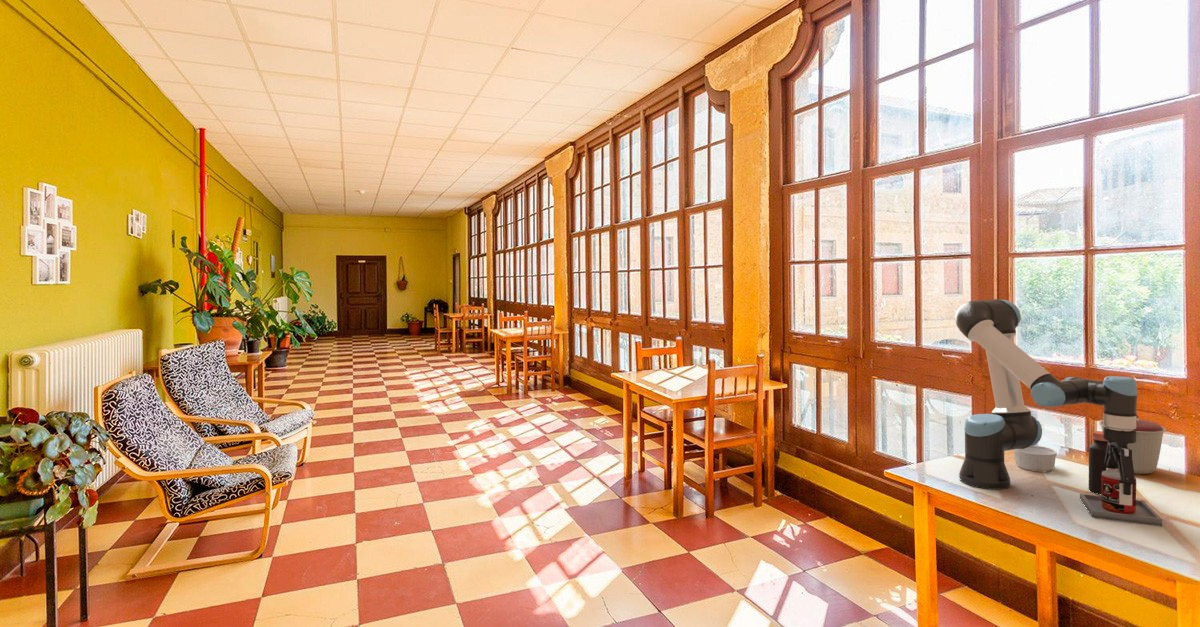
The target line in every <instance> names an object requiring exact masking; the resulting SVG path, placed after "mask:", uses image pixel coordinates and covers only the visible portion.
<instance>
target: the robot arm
mask: <svg viewBox="0 0 1200 627" xmlns="http://www.w3.org/2000/svg"><path fill="white" fill-rule="evenodd" d="M1021 316H1022V315H1021V311H1020V309H1019V308H1018V307H1017V305H1015V303H1013V302H1012V301H1010V300H1006V299H998V298H995V299H982V300H970V301H967V302H964V303H963V304H961V305H960V306H959V307H958V309H957V311H956V312H955V319H954V320H955V325H956V326H957V328H958V330H959V332H960V333H962V335H964V337H965V338H967V339H968V340H969V341H970V342H975V343H977V344H978V345H979V346H981V348H982V349H984V350H985V355H986V359H987V365H988V370H989V377H990V382H991V388H992V394H993V398H994V405H995V406H994V409H993V410H992V411H991V413H977V414H972V415H969V416H968V417H967V418H966V419H965V425H964V459H963V462H962V465H961V467H960V470H959V474H958V479H959V478H960V479H961V480H962V481H963V482H962V481H961V480H960V479H959V480H960V481H961V482H962V483H964V482H965V483H964V484H966V483H967V484H966V485H968V484H970V485H969V486H972V485H973V486H972V487H975V486H977V487H976V488H980V487H984V488H983V489H987V488H991V489H990V490H1003V489H1007V488H1009V487H1011V477H1010V475H1009V474H1010V473H1009V471H1008V469H1007V466H1006V463H1005V452H1006V451H1013V450H1014V449H1025V448H1028V447H1032V446H1034V445H1036V446H1037V444H1038V443H1039V442H1040V441H1041V438H1042V436H1043V427H1042V424H1041V422H1040V421H1039V420H1037V418H1036V417H1035V416H1034V415H1032V412H1031V409H1030V408H1028V407H1027V406H1026V405H1025V402H1024V397H1023V392H1022V386H1021V383H1023V384H1024V385H1025V386H1026V387H1027V388H1029V390H1030V396H1031V398H1032V401H1033V402H1034V403H1035V404H1036V405H1038V406H1040V407H1044V408H1051V407H1052V408H1057V407H1062V406H1067V405H1069V406H1070V405H1076V404H1077V405H1078V404H1091V405H1097V406H1103V413H1102V414H1103V415H1102V421H1103V425H1104V426H1105V427H1104V428H1103V438H1104V439H1105V440H1107V441H1108V443H1107V449H1106V455H1105V460H1104V463H1105V464H1106V467H1107V468H1106V471H1107V470H1114V471H1119V473H1120V478H1121V480H1119V481H1118V483H1120V489H1119V504H1121V505H1130V506H1132V484H1135V483H1136V484H1137V481H1136V482H1135V476H1136V475H1135V474H1134V468H1133V461H1132V450H1130V449H1128V446H1127V444H1129V443H1131V444H1132V443H1135V442H1136V430H1134V429H1135V428H1136V421H1139V417H1138V418H1137V417H1136V415H1138V414H1137V413H1138V412H1137V408H1138V407H1137V405H1138V395H1139V393H1138V387H1137V386H1138V383H1137V382H1138V381H1137V380H1136V379H1135V378H1133V377H1129V376H1119V375H1108V376H1105V377H1104V378H1103V380H1102V381H1101V380H1097V379H1096V380H1095V379H1089V378H1083V377H1081V376H1080V377H1079V376H1078V377H1073V376H1068V377H1064V379H1062V380H1059V379H1058V378H1057V377H1055V376H1054V375H1053V374H1052V373H1050V372H1049V371H1048V370H1046V368H1045V367H1043V366H1042V365H1041V364H1039V362H1037V361H1036V360H1035V359H1034V358H1032V356H1030V355H1029V354H1027V352H1025V351H1024V350H1023V349H1021V348H1020V347H1019V346H1018V345H1017V344H1015V343H1014V342H1013V339H1014V337H1015V336H1016V335H1017V331H1016V329H1017V327H1018V326H1019V324H1020V323H1021V321H1022V320H1021V319H1022V317H1021ZM1115 468H1117V469H1115ZM1118 469H1119V470H1118ZM1134 475H1135V476H1134ZM1127 478H1128V479H1127Z"/></svg>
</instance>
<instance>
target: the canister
mask: <svg viewBox="0 0 1200 627" xmlns="http://www.w3.org/2000/svg"><path fill="white" fill-rule="evenodd" d="M1136 417H1137V418H1138V419H1139V415H1138V414H1137V415H1136ZM1098 424H1099V426H1101V431H1103V428H1104V427H1105V426H1104V425H1103V420H1100V421H1099V422H1098ZM1134 430H1136V442H1135V443H1132V444H1131V443H1129V444H1127V446H1128V449H1130V450H1132V461H1133V468H1134V475H1149V474H1152V473H1154V472H1155V471H1156V470H1157V468H1158V464H1159V459H1160V456H1161V455H1160V454H1161V450H1162V449H1161V448H1162V443H1163V437H1164V433H1165V432H1166V431H1167V429H1166V428H1165V427H1163V426H1162V425H1161V424H1158V423H1156V422H1153V421H1150V420H1145V419H1139V421H1136V428H1135V429H1134ZM1116 469H1117V468H1116ZM1118 471H1119V469H1118Z"/></svg>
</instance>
